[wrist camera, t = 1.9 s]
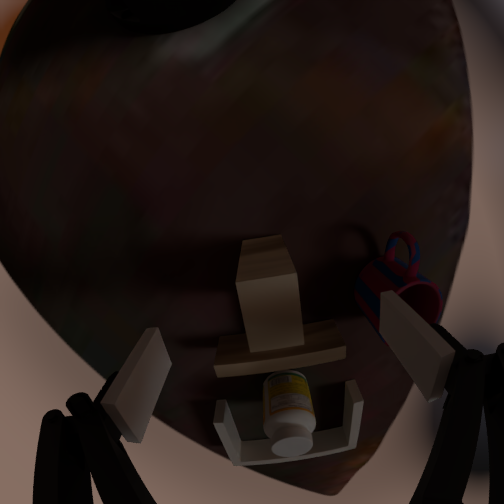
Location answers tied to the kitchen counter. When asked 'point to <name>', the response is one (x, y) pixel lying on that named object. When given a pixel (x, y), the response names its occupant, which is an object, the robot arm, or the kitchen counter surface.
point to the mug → (397, 284)
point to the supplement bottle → (288, 413)
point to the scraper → (273, 317)
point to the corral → (322, 440)
